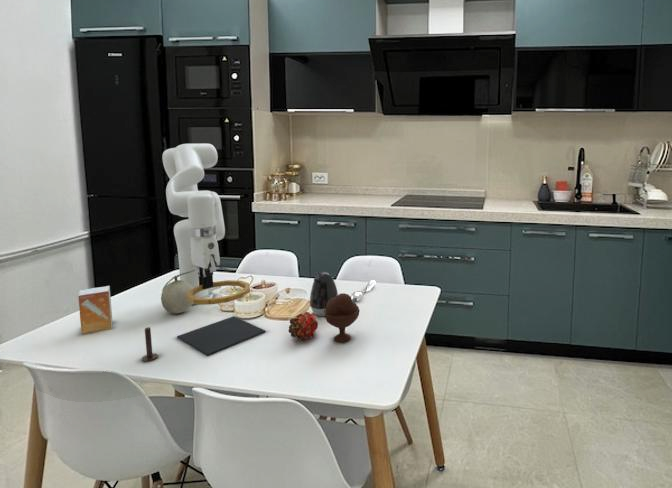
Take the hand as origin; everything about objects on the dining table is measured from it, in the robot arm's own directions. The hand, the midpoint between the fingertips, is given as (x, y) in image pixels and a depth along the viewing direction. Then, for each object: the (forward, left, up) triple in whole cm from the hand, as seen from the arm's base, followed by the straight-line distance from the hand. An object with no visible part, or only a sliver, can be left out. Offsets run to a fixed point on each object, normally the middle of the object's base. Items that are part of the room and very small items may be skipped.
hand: (206, 287), depth 141 cm
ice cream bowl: (-21, +41, -14) cm, 48 cm away
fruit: (0, -22, -14) cm, 26 cm away
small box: (+22, -30, -14) cm, 40 cm away
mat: (0, +8, -14) cm, 16 cm away
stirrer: (-54, +18, -14) cm, 59 cm away
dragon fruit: (-15, +30, -14) cm, 37 cm away
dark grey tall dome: (-31, +21, -14) cm, 40 cm away
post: (+20, +6, -14) cm, 25 cm away
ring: (0, +8, -1) cm, 8 cm away
